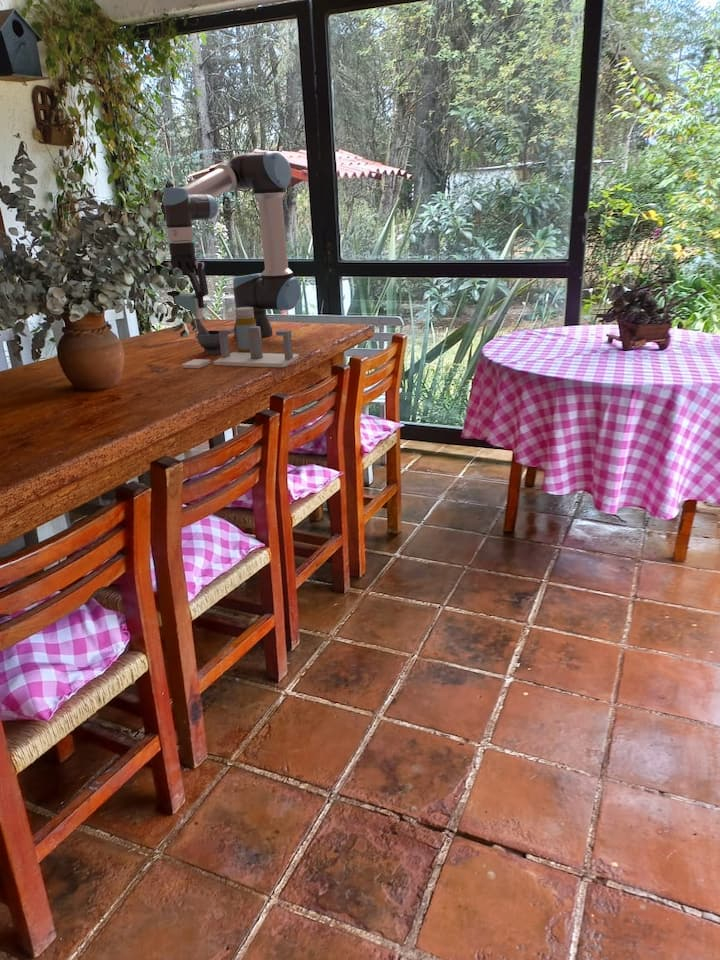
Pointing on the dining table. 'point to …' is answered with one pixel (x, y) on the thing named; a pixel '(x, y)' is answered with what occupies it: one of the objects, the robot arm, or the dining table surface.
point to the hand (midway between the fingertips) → (190, 318)
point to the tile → (196, 363)
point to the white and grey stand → (255, 350)
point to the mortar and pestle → (208, 339)
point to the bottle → (244, 327)
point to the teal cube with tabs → (186, 302)
